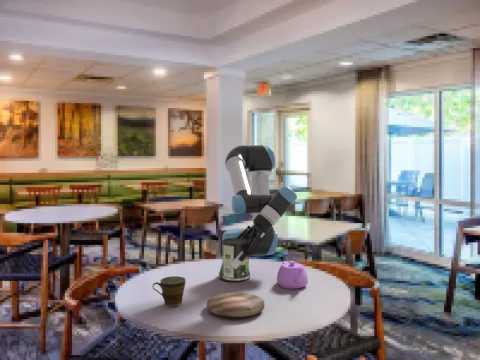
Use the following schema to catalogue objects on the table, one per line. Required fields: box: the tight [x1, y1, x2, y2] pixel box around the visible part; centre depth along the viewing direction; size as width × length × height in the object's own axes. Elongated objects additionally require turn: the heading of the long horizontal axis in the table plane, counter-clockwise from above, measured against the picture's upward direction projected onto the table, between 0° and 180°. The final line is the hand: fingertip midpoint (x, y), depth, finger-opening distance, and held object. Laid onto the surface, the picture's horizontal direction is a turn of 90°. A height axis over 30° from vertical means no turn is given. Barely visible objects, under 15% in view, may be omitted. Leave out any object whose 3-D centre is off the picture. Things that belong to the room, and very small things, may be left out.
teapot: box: [276, 260, 309, 290], centre depth 185 cm, size 13×20×11 cm
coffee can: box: [221, 238, 250, 281], centre depth 156 cm, size 10×10×14 cm
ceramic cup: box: [151, 276, 186, 308], centre depth 162 cm, size 13×10×10 cm
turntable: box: [206, 292, 265, 318], centre depth 157 cm, size 22×22×4 cm
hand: (228, 263), depth 155 cm, fingers closed on coffee can, 10 cm apart
